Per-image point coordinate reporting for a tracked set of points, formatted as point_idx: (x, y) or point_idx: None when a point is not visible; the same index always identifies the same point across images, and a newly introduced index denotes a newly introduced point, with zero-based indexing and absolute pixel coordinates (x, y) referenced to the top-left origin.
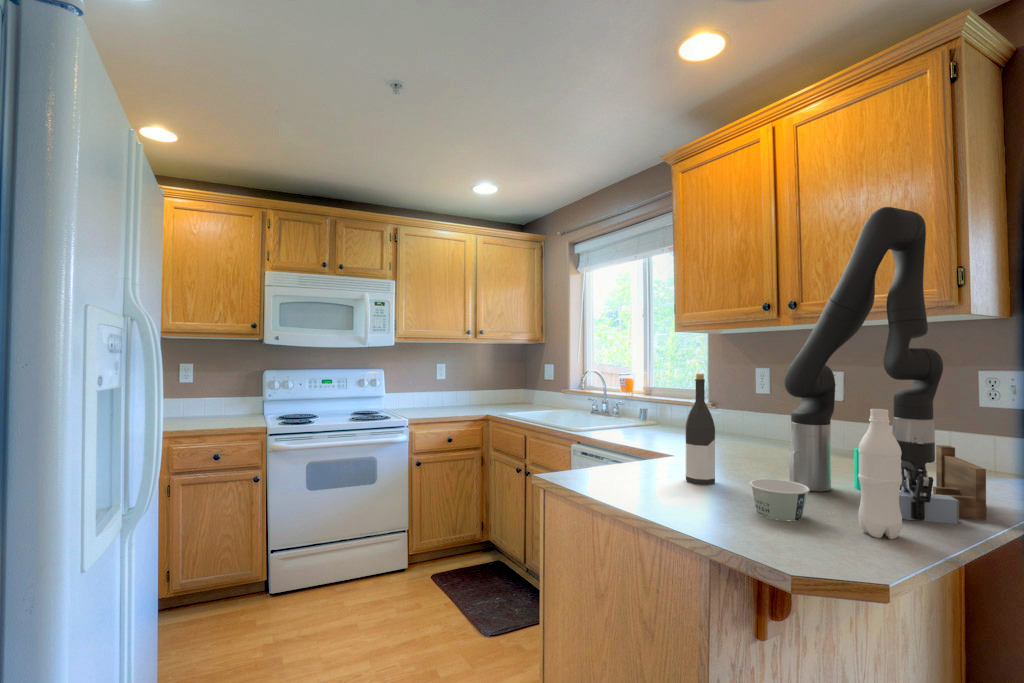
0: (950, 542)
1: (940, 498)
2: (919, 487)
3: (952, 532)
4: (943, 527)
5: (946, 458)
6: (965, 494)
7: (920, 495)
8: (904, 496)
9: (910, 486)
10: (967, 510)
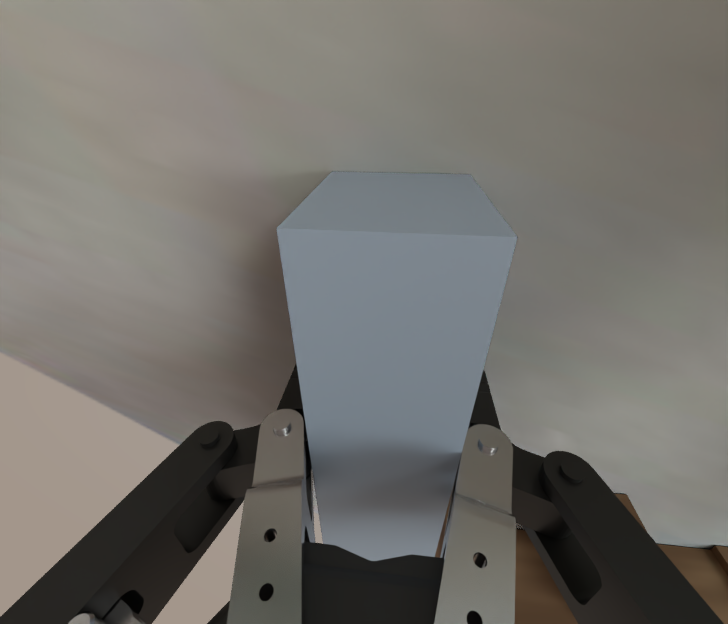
0: (49, 345)
1: (333, 538)
2: (71, 553)
3: (207, 401)
4: (266, 401)
5: None
6: (534, 622)
7: (372, 495)
8: (305, 408)
9: (241, 526)
10: (439, 539)
